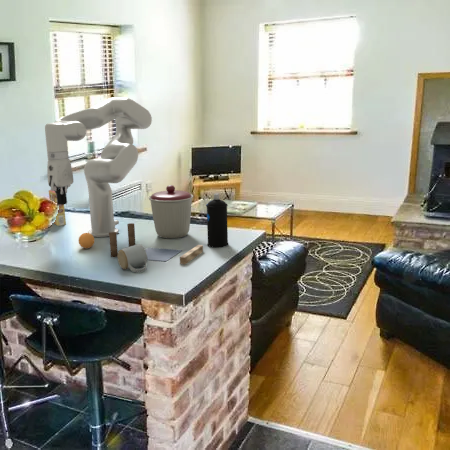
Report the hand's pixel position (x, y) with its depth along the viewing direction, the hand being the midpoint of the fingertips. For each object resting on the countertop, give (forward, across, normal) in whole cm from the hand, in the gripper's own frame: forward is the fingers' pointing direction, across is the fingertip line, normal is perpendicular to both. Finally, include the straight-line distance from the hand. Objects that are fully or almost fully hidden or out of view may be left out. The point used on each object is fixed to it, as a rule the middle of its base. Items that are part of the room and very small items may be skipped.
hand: (62, 203), depth 215 cm
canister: (+17, +26, -34) cm, 46 cm away
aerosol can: (+17, +18, -56) cm, 62 cm away
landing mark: (+17, 0, -40) cm, 43 cm away
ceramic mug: (+17, -16, -40) cm, 46 cm away
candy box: (+17, +31, +26) cm, 44 cm away
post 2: (+17, +7, -26) cm, 31 cm away
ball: (+14, 0, -10) cm, 17 cm away
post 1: (+17, -6, -26) cm, 31 cm away
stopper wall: (+17, 0, -54) cm, 56 cm away
